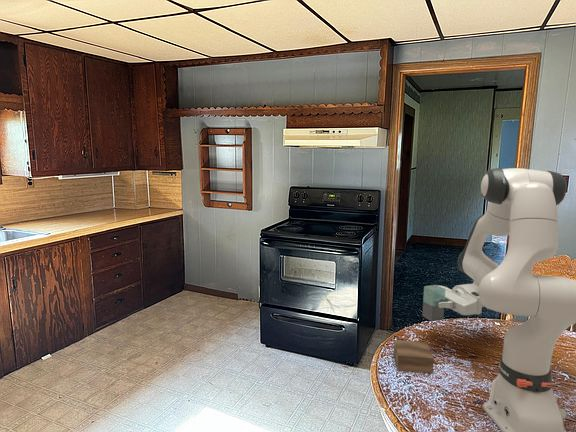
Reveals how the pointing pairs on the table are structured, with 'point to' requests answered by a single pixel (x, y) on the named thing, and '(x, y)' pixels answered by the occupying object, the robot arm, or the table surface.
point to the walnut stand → (413, 356)
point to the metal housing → (433, 302)
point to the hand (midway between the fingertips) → (431, 301)
